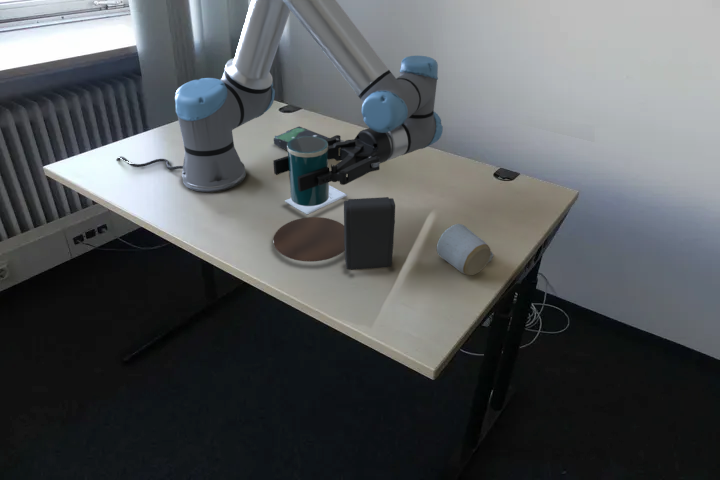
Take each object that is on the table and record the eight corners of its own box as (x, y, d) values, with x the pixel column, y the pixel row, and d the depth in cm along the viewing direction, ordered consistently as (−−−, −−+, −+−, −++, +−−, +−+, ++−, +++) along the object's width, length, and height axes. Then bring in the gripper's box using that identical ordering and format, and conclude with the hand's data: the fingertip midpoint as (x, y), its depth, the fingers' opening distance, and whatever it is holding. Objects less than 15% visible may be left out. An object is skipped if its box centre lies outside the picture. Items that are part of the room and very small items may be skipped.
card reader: (389, 259, 102) (393, 194, 94) (393, 272, 99) (397, 205, 91) (344, 262, 102) (343, 196, 93) (346, 275, 98) (345, 208, 90)
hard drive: (284, 206, 119) (324, 188, 126) (307, 220, 114) (347, 200, 121) (283, 200, 118) (324, 182, 125) (306, 213, 113) (347, 194, 120)
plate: (259, 256, 103) (258, 250, 102) (295, 216, 115) (294, 211, 115) (333, 274, 98) (333, 268, 98) (362, 231, 111) (362, 225, 110)
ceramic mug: (463, 283, 97) (469, 250, 92) (433, 261, 102) (438, 229, 98) (501, 264, 102) (509, 232, 97) (471, 245, 107) (477, 213, 103)
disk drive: (336, 149, 145) (299, 134, 153) (336, 139, 143) (299, 125, 151) (310, 161, 138) (273, 145, 146) (309, 151, 137) (272, 135, 145)
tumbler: (283, 201, 99) (279, 148, 92) (301, 184, 105) (298, 133, 98) (319, 209, 97) (317, 156, 90) (335, 191, 102) (334, 139, 96)
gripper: (413, 178, 102) (319, 216, 90) (349, 144, 115) (260, 173, 103) (416, 143, 98) (318, 178, 86) (350, 111, 111) (256, 138, 99)
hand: (286, 175), depth 94 cm, fingers closed on tumbler, 7 cm apart
